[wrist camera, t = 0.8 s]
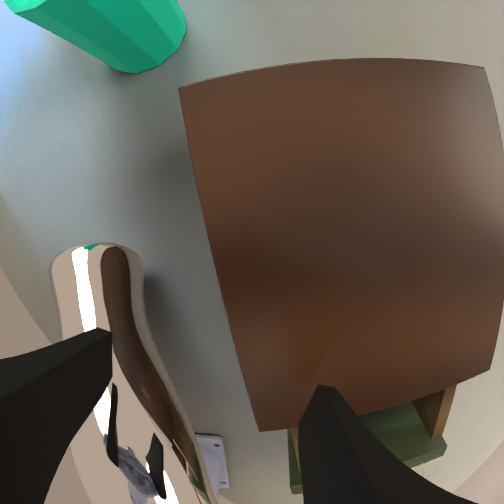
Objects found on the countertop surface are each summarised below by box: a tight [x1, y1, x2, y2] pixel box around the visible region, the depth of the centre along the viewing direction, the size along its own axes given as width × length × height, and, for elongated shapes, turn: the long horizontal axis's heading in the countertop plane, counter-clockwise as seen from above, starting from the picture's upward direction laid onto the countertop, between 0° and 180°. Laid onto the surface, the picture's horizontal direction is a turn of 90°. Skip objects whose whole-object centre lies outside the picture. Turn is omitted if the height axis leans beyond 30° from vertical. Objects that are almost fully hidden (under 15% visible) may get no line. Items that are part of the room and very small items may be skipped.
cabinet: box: [178, 58, 504, 432], centre depth 13 cm, size 14×12×9 cm
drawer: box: [287, 384, 457, 494], centre depth 16 cm, size 17×10×7 cm, turn 11°
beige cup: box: [49, 242, 218, 504], centre depth 13 cm, size 7×7×15 cm
